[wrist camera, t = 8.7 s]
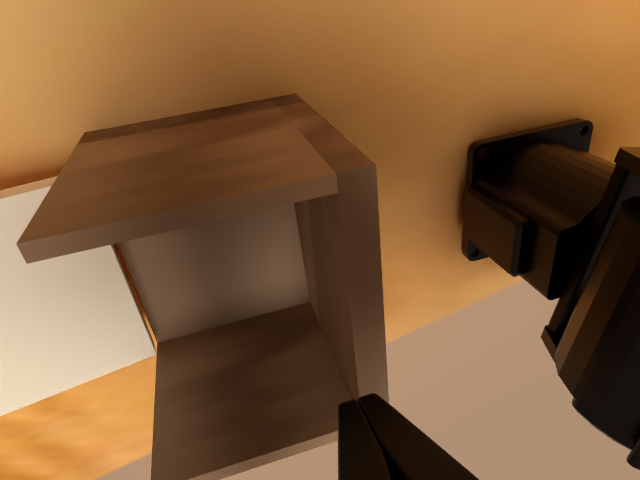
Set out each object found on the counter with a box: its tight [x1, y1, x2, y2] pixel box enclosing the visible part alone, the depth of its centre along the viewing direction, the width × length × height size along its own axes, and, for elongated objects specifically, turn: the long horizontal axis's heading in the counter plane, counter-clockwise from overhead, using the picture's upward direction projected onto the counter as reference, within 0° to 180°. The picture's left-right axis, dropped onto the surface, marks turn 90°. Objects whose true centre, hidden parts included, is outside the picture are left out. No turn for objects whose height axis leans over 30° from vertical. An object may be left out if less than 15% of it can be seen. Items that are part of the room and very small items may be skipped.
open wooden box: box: [16, 94, 389, 480], centre depth 16 cm, size 8×10×8 cm
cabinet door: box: [0, 176, 156, 416], centre depth 16 cm, size 1×8×7 cm
